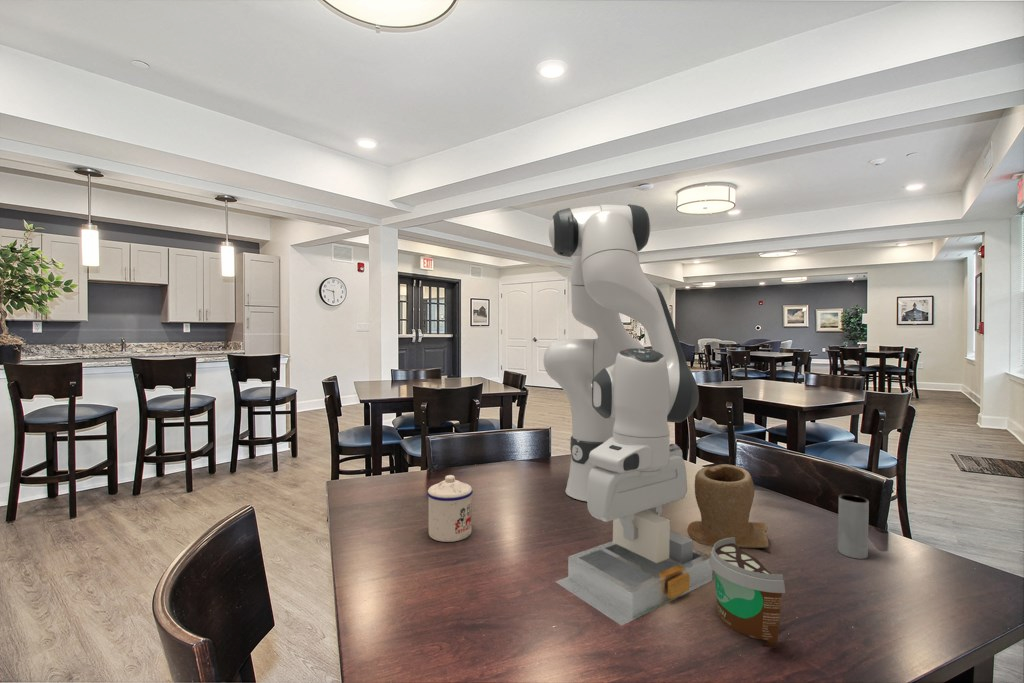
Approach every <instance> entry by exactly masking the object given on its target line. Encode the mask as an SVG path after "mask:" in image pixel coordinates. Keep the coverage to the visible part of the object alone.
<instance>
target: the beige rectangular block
mask: <svg viewBox="0 0 1024 683" xmlns="http://www.w3.org/2000/svg"><path fill="white" fill-rule="evenodd" d="M670 522H671V520H670V519H668V518H666V517H663V516H661V515H660V516H658V515H656V514H653V513H651V512H648V510H644V511H641V512H638V513H635V514H634V520H632V523H633V526H634V527H636V528H638V538H637V539H635V540H632V541H629V540H627V539H625V538H624V536H623V526H622V524H621V522H620V520H619V518H618V519H615V520H612V541H613V543H616V544H618V545H620V546H622V547H624V548H626V549H628V550H630V551H632V552H634V553H636V554H638V555H640V556H643V557H645V558H647V559H649V560H651V561H653V562H655V563H659V562H661V561H664V560H666V559H669V538H670V531H671V530H670V526H671V525H670Z"/></svg>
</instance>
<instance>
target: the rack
mask: <svg viewBox="0 0 1024 683" xmlns="http://www.w3.org/2000/svg"><path fill="white" fill-rule="evenodd" d="M709 559H710V554H709V555H708V554H706V553H704V552H701V551H699V550H696V549H694V548H693V560H692V561H689V562H687V563H685V564H681V563H679V562H677V561H675V560H673V559H670V558H669V559H666V560H664V561H661V562H659V563H655V562H653V561H651V560H649V559H647V558H645V557H643V556H640V555H638V554H636V553H634V552H632V551H630V550H628V549H626V548H624V547H622V546H620V545H618V544H616V543H613V540H612V541H611V540H610V541H609V542H605V543H602V544H599V545H597V546H594V547H592V548H588V549H586V550H583V551H582V550H581V551H580V552H577V553H574V554H571V555H569V556H568V558H567V560H568V562H567V566H568V568H567V574H568V575H567V576H566V577H564V578H561V579H558V580H555V583H556V584H558V585H559V586H561V587H562V588H563V589H565V590H567V591H568V592H570V593H572V594H573V595H575V597H577V598H579V599H580V600H582V601H583V602H584V603H587V604H588V605H590V606H591V607H593V608H594V609H595V610H597V611H598V612H600V613H602V614H603V615H604V616H606V617H608V618H609V619H610V620H612V621H614V623H617V624H618V625H619V626H622V627H623V626H624V625H626V624H628V623H630V622H632V621H634V620H636V619H638V618H640V617H642V616H643V615H646V614H649V613H650V612H652V611H654V610H656V609H658V608H660V607H662V606H664V605H666V604H668V603H670V602H672V601H674V600H676V599H678V598H680V597H682V596H685V595H686V594H689V593H691V592H693V591H694V590H696V589H698V588H700V587H701V586H704V585H707V584H708V583H710V582H712V581H715V572H714V570H713V569H712V568H711V566H710V564H709Z"/></svg>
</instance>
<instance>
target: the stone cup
mask: <svg viewBox="0 0 1024 683" xmlns="http://www.w3.org/2000/svg"><path fill="white" fill-rule="evenodd" d="M694 497H695V500H696V505H697V507H698V509H699V510H698V511H699V512H700V517H701V518H700V519H701V520H700V521H698V520H697V521H692V522H690V523H688V526H687V534H688V535H689V538H690V539H692V540H693V541H696V543H698V544H700V545H703V546H704V545H705V546H710V547H714V544H715V543H716V542H718V541H719V540H722V539H726V538H735V545H737V546H738V547H739V548H740V549H742V548H743V549H744V548H747V549H749V548H750V549H767V548H769V546H770V545H769V539H768V534H767V531H768V526H767V524H766V523H765V522H755V521H753V522H751V521H750V515H751V514H750V513H751V509H752V505H753V502H754V498H755V486H754V482H753V478H752V476H751V474H750V472H749V471H748V470H746V469H745V468H743V467H741V466H738V465H733V464H727V463H725V464H716V465H713V466H709V465H708V466H704V467H701V469H699V470H698V471H697V472H696V474H695V476H694Z"/></svg>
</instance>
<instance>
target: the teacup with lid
mask: <svg viewBox="0 0 1024 683" xmlns="http://www.w3.org/2000/svg"><path fill="white" fill-rule="evenodd" d="M426 493H427V494H426V495H427V497H428V536H429V537H430V538H431V539H433V540H435V541H437V542H443V543H444V542H445V543H446V542H447V543H451V542H459V541H462V540H465V539H466V538H468V537H469V536H471V534H472V494H473V493H474V492H473V488H472V486H471V485H470V484H468V483H466V482H461V481H460V480H457V479H456V477H455V476H454V475H452V474H449V475H445V477H444V480H442V481H440V482H439V483H436V484H433V485H431V486H430V487H429V488H428V490H427V492H426Z"/></svg>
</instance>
